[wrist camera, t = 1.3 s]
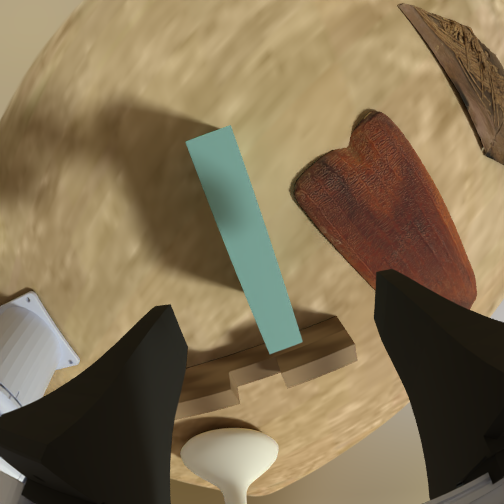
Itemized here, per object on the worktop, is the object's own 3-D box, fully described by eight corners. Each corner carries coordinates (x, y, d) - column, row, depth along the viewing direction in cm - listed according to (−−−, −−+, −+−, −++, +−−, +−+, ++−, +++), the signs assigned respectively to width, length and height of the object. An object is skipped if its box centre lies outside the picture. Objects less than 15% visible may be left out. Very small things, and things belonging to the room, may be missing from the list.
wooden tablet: (280, 192, 21) (286, 196, 19) (371, 102, 19) (382, 100, 18) (426, 352, 30) (433, 361, 29) (480, 293, 28) (488, 300, 27)
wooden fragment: (540, 146, 22) (546, 148, 21) (513, 212, 25) (519, 215, 24) (421, -26, 14) (427, -29, 13) (377, 33, 17) (383, 29, 16)
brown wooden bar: (175, 387, 26) (173, 420, 22) (165, 374, 25) (162, 407, 21) (339, 332, 26) (357, 360, 22) (336, 316, 25) (355, 343, 21)
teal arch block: (277, 285, 23) (302, 342, 16) (252, 294, 23) (269, 354, 16) (222, 129, 18) (230, 125, 12) (193, 140, 18) (185, 141, 12)
